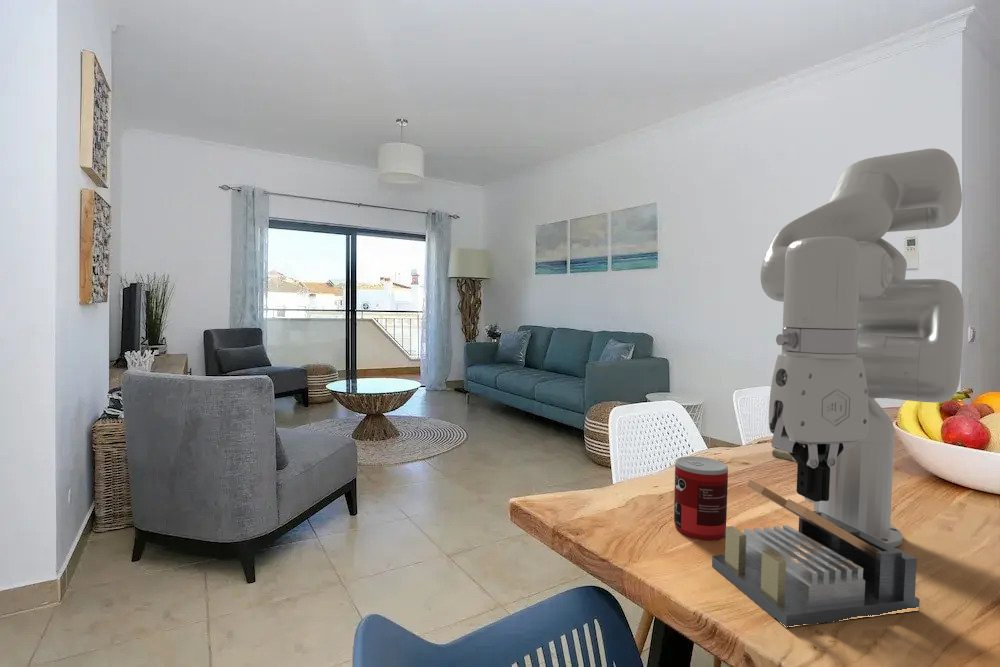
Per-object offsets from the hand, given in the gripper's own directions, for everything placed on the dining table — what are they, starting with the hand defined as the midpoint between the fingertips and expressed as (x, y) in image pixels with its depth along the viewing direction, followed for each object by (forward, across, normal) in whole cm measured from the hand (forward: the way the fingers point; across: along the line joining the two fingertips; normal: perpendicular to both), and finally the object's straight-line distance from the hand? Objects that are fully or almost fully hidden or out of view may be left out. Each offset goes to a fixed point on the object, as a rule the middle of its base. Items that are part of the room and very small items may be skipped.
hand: (812, 497), depth 61 cm
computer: (+14, +47, +51) cm, 71 cm away
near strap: (+5, +3, 0) cm, 6 cm away
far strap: (+5, +3, +7) cm, 9 cm away
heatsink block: (+13, +3, +4) cm, 14 cm away
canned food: (+13, -1, +22) cm, 25 cm away
